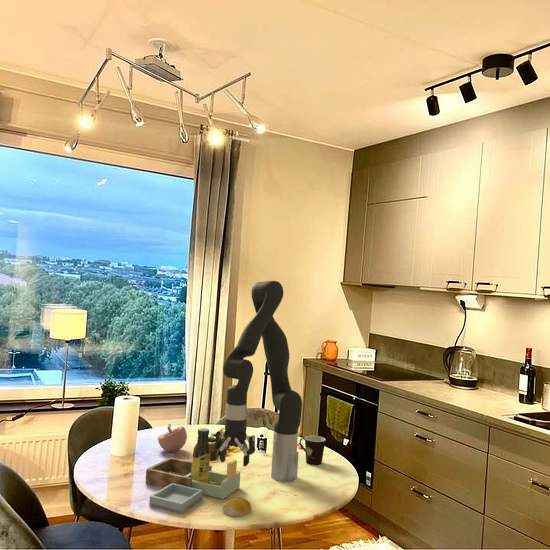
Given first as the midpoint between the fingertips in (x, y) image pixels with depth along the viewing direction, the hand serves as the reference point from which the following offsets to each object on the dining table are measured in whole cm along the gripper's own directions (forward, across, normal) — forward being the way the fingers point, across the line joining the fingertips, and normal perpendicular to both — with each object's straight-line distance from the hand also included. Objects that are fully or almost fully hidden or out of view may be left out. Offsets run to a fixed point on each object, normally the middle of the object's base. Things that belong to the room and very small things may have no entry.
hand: (234, 463), depth 180 cm
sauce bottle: (+10, +13, 0) cm, 17 cm away
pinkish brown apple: (+10, +42, -28) cm, 52 cm away
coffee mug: (+11, -14, -47) cm, 50 cm away
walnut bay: (+10, +22, 0) cm, 24 cm away
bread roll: (+11, -7, +12) cm, 17 cm away
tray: (+10, +13, +15) cm, 22 cm away
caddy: (+10, +9, 0) cm, 13 cm away
